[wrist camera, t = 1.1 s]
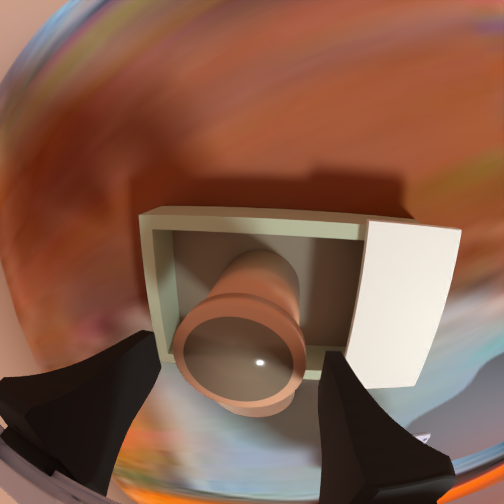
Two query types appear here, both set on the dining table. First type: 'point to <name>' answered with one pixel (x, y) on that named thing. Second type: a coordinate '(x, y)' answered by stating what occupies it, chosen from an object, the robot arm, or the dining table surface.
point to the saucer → (261, 408)
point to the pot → (245, 334)
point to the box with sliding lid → (312, 279)
